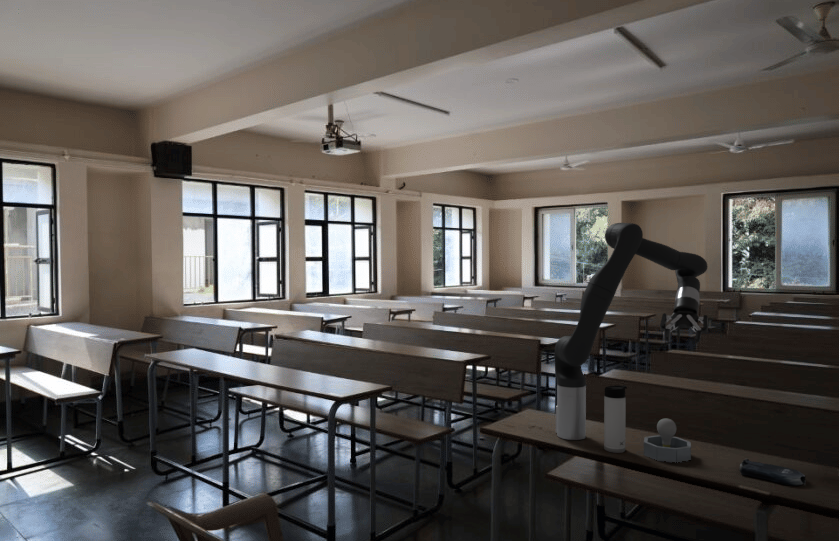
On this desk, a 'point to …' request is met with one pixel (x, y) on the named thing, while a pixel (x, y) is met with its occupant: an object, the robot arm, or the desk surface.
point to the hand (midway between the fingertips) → (682, 341)
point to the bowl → (667, 449)
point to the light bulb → (666, 431)
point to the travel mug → (614, 418)
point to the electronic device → (772, 473)
